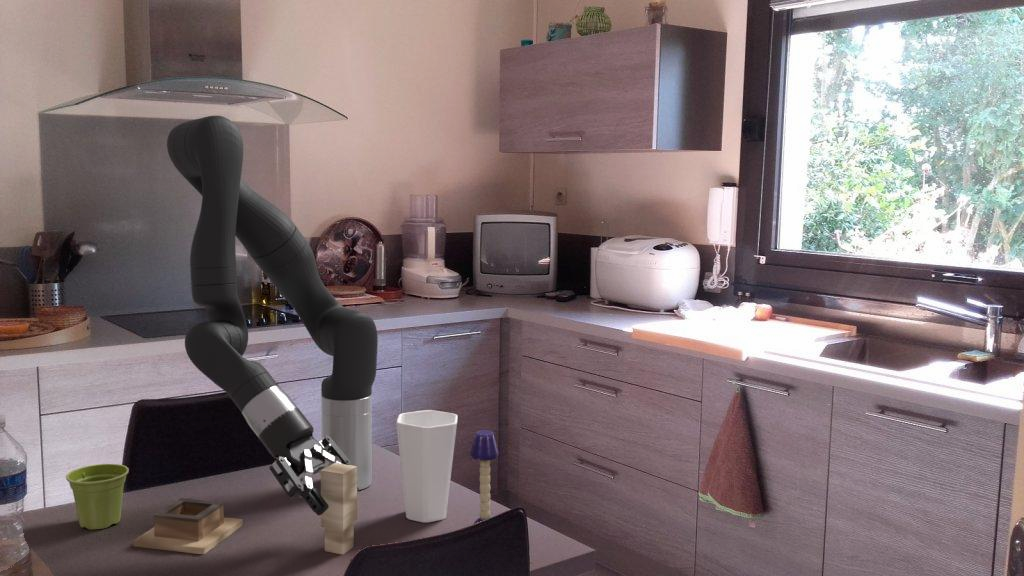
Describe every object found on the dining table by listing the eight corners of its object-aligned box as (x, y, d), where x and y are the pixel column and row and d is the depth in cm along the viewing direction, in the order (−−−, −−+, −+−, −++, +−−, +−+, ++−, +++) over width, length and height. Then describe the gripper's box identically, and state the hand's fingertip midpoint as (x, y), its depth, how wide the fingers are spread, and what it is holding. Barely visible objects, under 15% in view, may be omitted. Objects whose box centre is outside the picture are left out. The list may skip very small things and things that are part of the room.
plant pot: (65, 537, 143) (63, 484, 141) (70, 516, 151) (68, 466, 150) (129, 530, 146) (128, 478, 145) (131, 509, 155) (129, 461, 154)
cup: (469, 511, 157) (471, 416, 155) (437, 531, 148) (438, 430, 146) (416, 499, 162) (416, 407, 160) (382, 518, 153) (382, 420, 151)
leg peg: (335, 542, 143) (334, 462, 141) (357, 546, 141) (357, 466, 140) (321, 551, 139) (320, 470, 138) (343, 556, 138) (343, 474, 136)
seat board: (177, 518, 151) (176, 492, 151) (242, 525, 149) (242, 498, 148) (133, 546, 140) (132, 518, 139) (204, 554, 137) (203, 526, 137)
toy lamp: (493, 536, 146) (495, 437, 144) (466, 534, 147) (467, 434, 145) (500, 525, 151) (502, 429, 149) (473, 523, 152) (474, 426, 150)
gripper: (263, 417, 134) (328, 503, 131) (317, 397, 147) (378, 475, 145) (234, 447, 137) (298, 532, 134) (290, 425, 150) (349, 502, 147)
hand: (339, 502), depth 139 cm, fingers open, 8 cm apart
